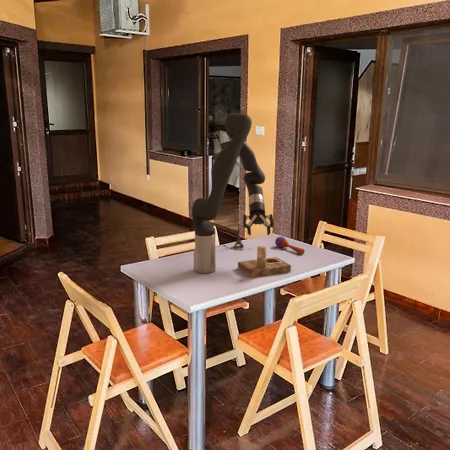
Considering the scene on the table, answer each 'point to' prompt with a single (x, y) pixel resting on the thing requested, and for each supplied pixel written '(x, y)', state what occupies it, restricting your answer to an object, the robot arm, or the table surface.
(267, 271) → the pin board
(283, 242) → the maraca
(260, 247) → the pin
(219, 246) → the table surface
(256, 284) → the table surface
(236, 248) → the eiffel tower figurine
